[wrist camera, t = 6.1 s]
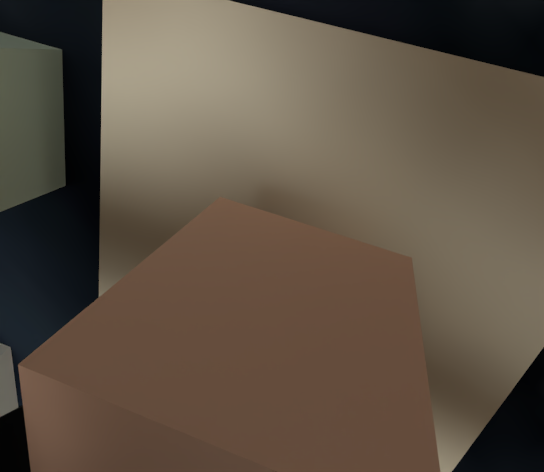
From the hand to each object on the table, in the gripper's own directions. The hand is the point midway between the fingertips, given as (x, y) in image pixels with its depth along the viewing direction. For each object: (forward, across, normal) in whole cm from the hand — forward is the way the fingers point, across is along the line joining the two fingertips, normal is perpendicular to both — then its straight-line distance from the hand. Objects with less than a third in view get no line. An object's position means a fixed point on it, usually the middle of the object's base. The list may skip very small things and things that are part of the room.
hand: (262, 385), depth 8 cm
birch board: (+4, 0, 0) cm, 4 cm away
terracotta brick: (+1, 0, 0) cm, 1 cm away
